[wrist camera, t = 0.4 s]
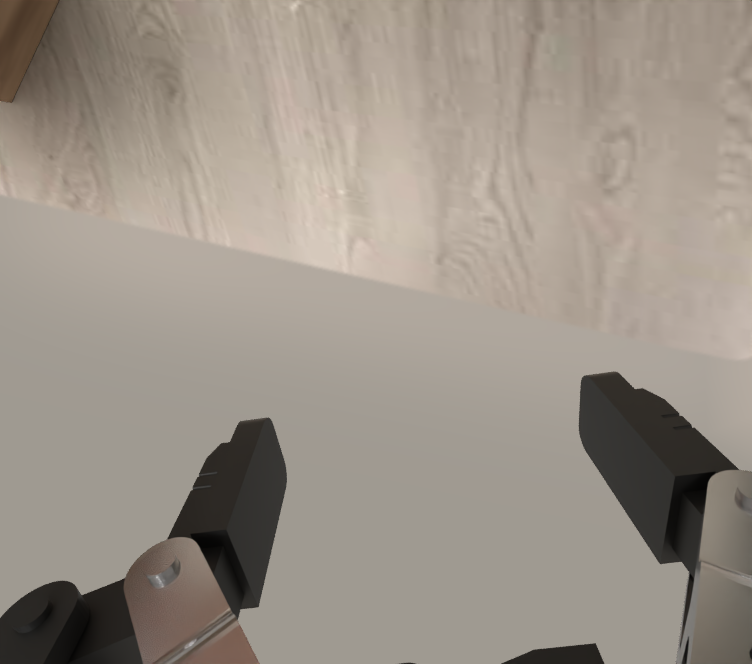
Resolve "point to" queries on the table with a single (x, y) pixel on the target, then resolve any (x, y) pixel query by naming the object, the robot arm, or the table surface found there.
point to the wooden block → (20, 39)
